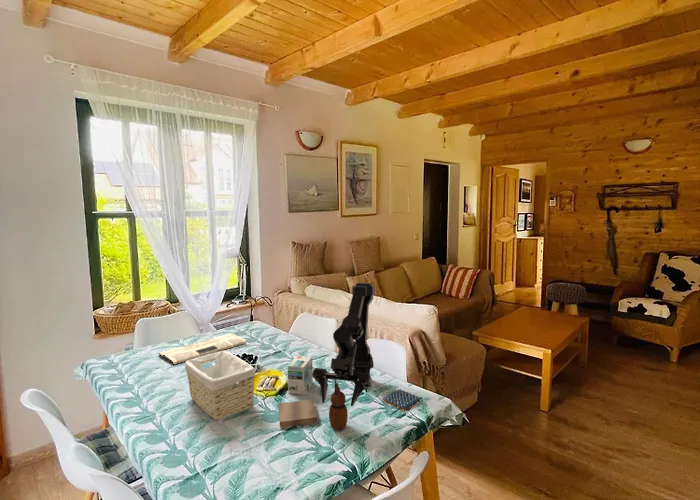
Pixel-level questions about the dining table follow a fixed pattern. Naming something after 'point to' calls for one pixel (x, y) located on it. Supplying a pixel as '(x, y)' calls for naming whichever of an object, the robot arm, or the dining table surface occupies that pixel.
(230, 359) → the storage basket
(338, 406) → the wooden figurine
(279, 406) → the light brown wooden stand
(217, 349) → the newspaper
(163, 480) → the dining table surface
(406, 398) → the woven mat
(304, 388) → the light bulb box
